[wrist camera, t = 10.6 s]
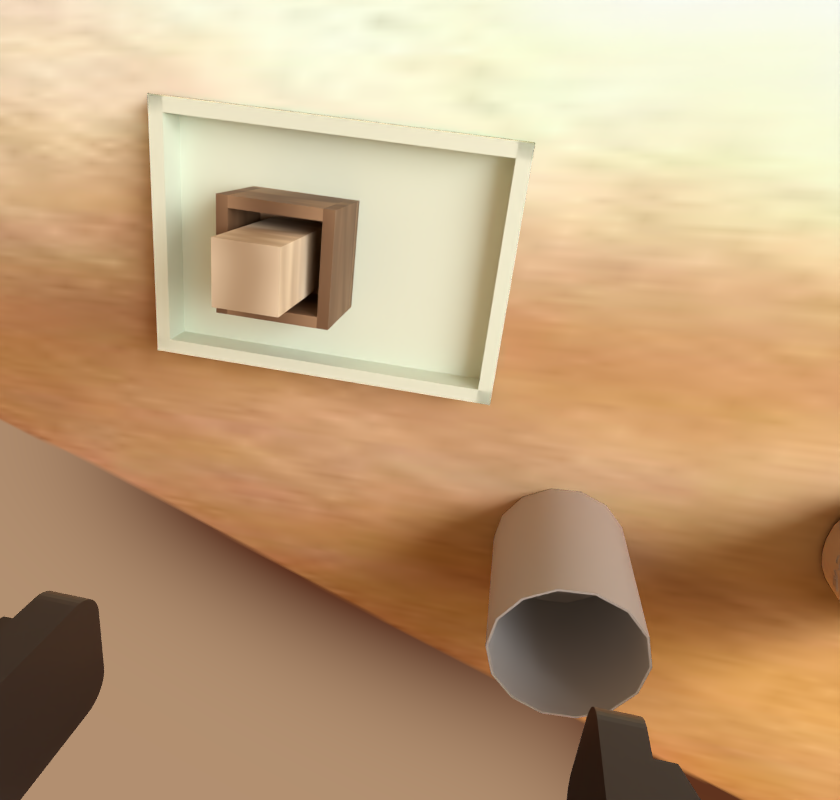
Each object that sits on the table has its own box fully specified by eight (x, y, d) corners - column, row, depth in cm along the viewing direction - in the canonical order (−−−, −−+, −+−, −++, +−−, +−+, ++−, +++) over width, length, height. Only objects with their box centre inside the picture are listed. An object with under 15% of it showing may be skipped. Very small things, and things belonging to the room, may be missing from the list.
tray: (534, 142, 34) (535, 143, 32) (491, 389, 40) (489, 405, 37) (170, 95, 36) (147, 93, 34) (177, 338, 41) (157, 350, 39)
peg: (330, 224, 36) (280, 247, 29) (326, 281, 37) (278, 317, 30) (274, 216, 36) (210, 236, 29) (272, 273, 38) (211, 306, 30)
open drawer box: (359, 200, 36) (335, 210, 31) (351, 306, 38) (327, 330, 34) (254, 186, 37) (215, 193, 32) (252, 291, 39) (216, 312, 34)
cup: (471, 559, 44) (457, 669, 35) (535, 467, 41) (538, 562, 32) (579, 616, 45) (593, 740, 36) (651, 529, 42) (687, 641, 32)
